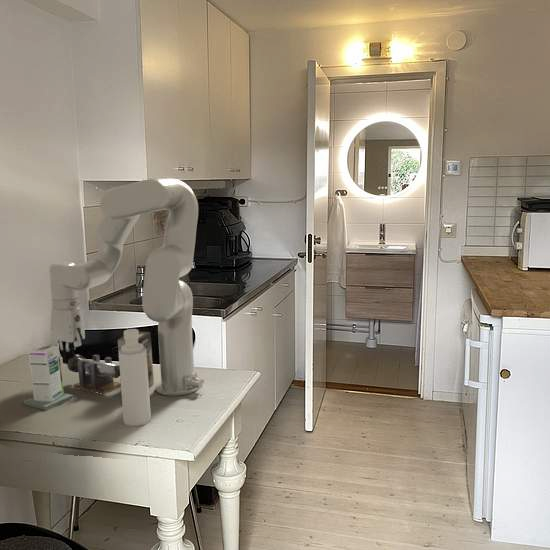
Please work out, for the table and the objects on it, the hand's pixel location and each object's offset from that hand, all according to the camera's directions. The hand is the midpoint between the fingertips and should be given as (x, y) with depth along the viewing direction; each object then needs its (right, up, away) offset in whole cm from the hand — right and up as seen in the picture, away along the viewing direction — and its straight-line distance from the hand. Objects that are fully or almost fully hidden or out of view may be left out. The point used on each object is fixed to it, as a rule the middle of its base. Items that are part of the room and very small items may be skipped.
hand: (68, 362), depth 171 cm
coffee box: (+23, -7, -7) cm, 25 cm away
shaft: (+10, -3, -5) cm, 11 cm away
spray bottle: (+28, -10, -28) cm, 41 cm away
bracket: (+10, -7, -5) cm, 13 cm away
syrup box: (0, -8, -14) cm, 16 cm away
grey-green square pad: (0, -9, -14) cm, 17 cm away
